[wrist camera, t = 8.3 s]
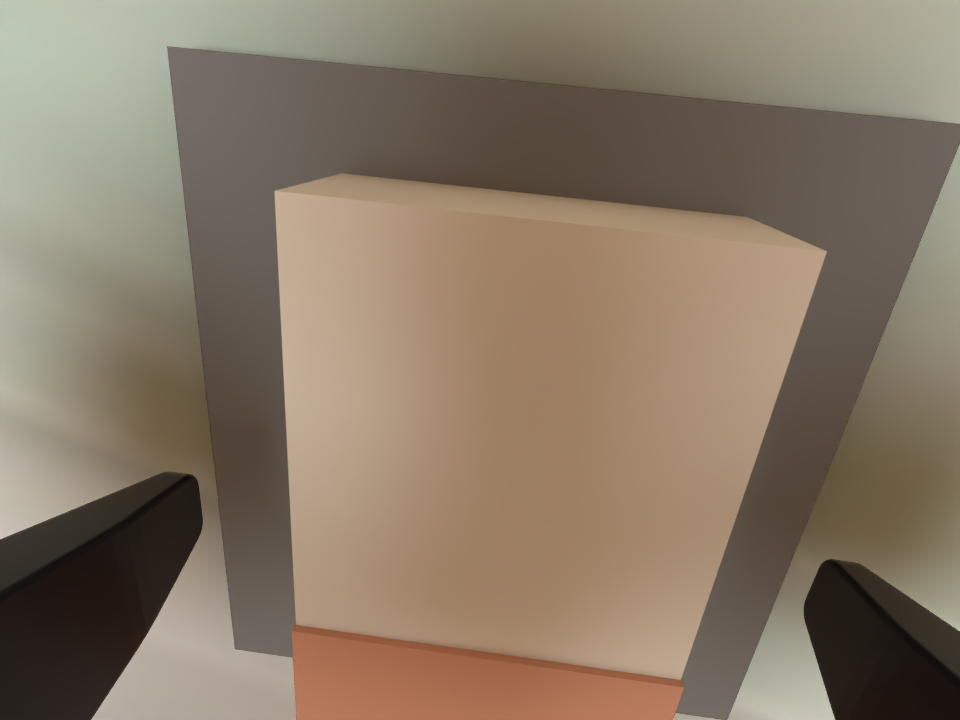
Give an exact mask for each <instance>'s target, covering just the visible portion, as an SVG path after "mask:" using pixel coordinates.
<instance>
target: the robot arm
mask: <svg viewBox="0 0 960 720" xmlns="http://www.w3.org/2000/svg"><path fill="white" fill-rule="evenodd" d="M202 524H203V517H202V509H201V501H200V493H199V485H198V481H197V479H196V478H195V477H194V476H193V475H190V474H184V473H176V472H164V473H161V474H158V475H156V476H153V477H151V478H149V479H146V480H144V481H141V482H139V483H136V484H134V485H132V486H129V487H127V488H124V489H122V490H119V491H117V492H115V493H112V494H110V495H107V496H105V497H102V498H100V499H98V500H95V501H93V502H90V503H88V504H85V505H83V506H81V507H78V508H76V509H73V510H71V511H68V512H66V513H64V514H61V515H59V516H56V517H54V518H51V519H49V520H47V521H44V522H42V523H39V524H37V525H34V526H32V527H30V528H27V529H25V530H22V531H20V532H17V533H15V534H13V535H10V536H8V537H5V538H3V539H0V720H91V719H92V717H93V716H94V714H95V713H96V711H97V710H98V708H99V707H100V705H101V704H102V702H103V701H104V699H105V698H106V696H107V695H108V693H109V692H110V690H111V689H112V687H113V686H114V684H115V683H116V681H117V680H118V678H119V677H120V675H121V674H122V672H123V671H124V669H125V668H126V666H127V665H128V663H129V662H130V660H131V658H132V657H133V655H134V654H135V652H136V651H137V649H138V648H139V646H140V645H141V643H142V641H143V640H144V638H145V637H146V635H147V633H148V632H149V630H150V628H151V626H152V625H153V623H154V621H155V619H156V618H157V616H158V614H159V612H160V610H161V608H162V606H163V604H164V602H165V601H166V599H167V597H168V595H169V593H170V591H171V589H172V587H173V585H174V584H175V582H176V580H177V578H178V576H179V574H180V572H181V570H182V568H183V567H184V565H185V563H186V561H187V559H188V557H189V555H190V553H191V551H192V550H193V548H194V546H195V544H196V542H197V540H198V538H199V536H200V533H201V530H202ZM804 619H805V623H806V626H807V629H808V633H809V636H810V639H811V642H812V646H813V649H814V652H815V655H816V659H817V662H818V665H819V669H820V672H821V675H822V678H823V682H824V685H825V688H826V691H827V695H828V698H829V701H830V704H831V708H832V711H833V714H834V717H835V720H960V631H958V630H957V629H955V628H954V627H952V626H951V625H949V624H948V623H946V622H945V621H943V620H942V619H940V618H939V617H937V616H936V615H935V614H933V613H932V612H930V611H929V610H927V609H926V608H924V607H923V606H921V605H920V604H918V603H917V602H915V601H914V600H912V599H911V598H910V597H908V596H907V595H905V594H904V593H902V592H901V591H899V590H898V589H896V588H895V587H893V586H892V585H890V584H889V583H888V582H886V581H885V580H883V579H882V578H880V577H879V576H877V575H876V574H874V573H873V572H871V571H870V570H868V569H867V568H865V567H864V566H862V565H861V564H858V563H855V562H849V561H841V560H834V559H829V560H826V561H824V562H823V563H822V564H821V566H820V568H819V570H818V572H817V574H816V577H815V579H814V581H813V584H812V586H811V588H810V591H809V593H808V595H807V598H806V600H805V603H804Z"/></svg>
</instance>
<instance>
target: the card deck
mask: <svg viewBox="0 0 960 720" xmlns="http://www.w3.org/2000/svg"><path fill="white" fill-rule="evenodd" d="M274 192H275V213H276V233H277V253H278V273H279V293H280V314H281V334H282V354H283V374H284V394H285V414H286V435H287V455H288V475H289V495H290V515H291V536H292V556H293V576H294V596H295V616H296V623H295V625H294V627H293V630H292V647H293V665H294V684H295V702H296V720H673V718H674V715H675V712H676V709H677V706H678V703H679V701H680V698H681V695H682V692H683V689H684V686H683V682H682V675H683V672H684V669H685V666H686V663H687V660H688V657H689V654H690V651H691V648H692V646H693V643H694V640H695V637H696V634H697V631H698V628H699V625H700V622H701V619H702V616H703V613H704V610H705V607H706V605H707V602H708V599H709V596H710V593H711V590H712V587H713V584H714V581H715V578H716V575H717V572H718V569H719V566H720V564H721V561H722V558H723V555H724V552H725V549H726V546H727V543H728V540H729V537H730V534H731V531H732V528H733V525H734V522H735V520H736V517H737V514H738V511H739V508H740V505H741V502H742V499H743V496H744V493H745V490H746V487H747V484H748V481H749V479H750V476H751V473H752V470H753V467H754V464H755V461H756V458H757V455H758V452H759V449H760V446H761V443H762V440H763V438H764V435H765V432H766V429H767V426H768V423H769V420H770V417H771V414H772V411H773V408H774V405H775V402H776V399H777V396H778V394H779V391H780V388H781V385H782V382H783V379H784V376H785V373H786V370H787V367H788V364H789V361H790V358H791V355H792V353H793V350H794V347H795V344H796V341H797V338H798V335H799V332H800V329H801V326H802V323H803V320H804V317H805V314H806V312H807V309H808V306H809V303H810V300H811V297H812V294H813V291H814V288H815V285H816V282H817V279H818V276H819V273H820V270H821V268H822V265H823V262H824V259H825V256H826V253H827V251H825V250H823V249H820V248H818V247H816V246H813V245H811V244H809V243H806V242H804V241H802V240H799V239H797V238H795V237H792V236H790V235H788V234H786V233H783V232H781V231H779V230H776V229H774V228H772V227H769V226H767V225H765V224H762V223H760V222H758V221H755V220H753V219H751V218H749V217H743V216H734V215H725V214H715V213H706V212H697V211H687V210H678V209H669V208H660V207H650V206H641V205H632V204H622V203H613V202H604V201H595V200H585V199H576V198H567V197H557V196H548V195H539V194H530V193H520V192H511V191H502V190H492V189H483V188H474V187H465V186H455V185H446V184H437V183H427V182H418V181H409V180H400V179H390V178H381V177H372V176H362V175H353V174H344V173H341V174H338V175H334V176H330V177H326V178H322V179H318V180H314V181H311V182H307V183H303V184H299V185H295V186H291V187H287V188H284V189H280V190H276V191H274Z"/></svg>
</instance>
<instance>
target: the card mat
mask: <svg viewBox="0 0 960 720" xmlns="http://www.w3.org/2000/svg"><path fill="white" fill-rule="evenodd" d="M167 49H168V58H169V67H170V76H171V85H172V93H173V102H174V111H175V120H176V129H177V138H178V147H179V156H180V164H181V173H182V182H183V191H184V200H185V209H186V218H187V227H188V236H189V244H190V253H191V262H192V271H193V280H194V289H195V298H196V307H197V315H198V324H199V333H200V342H201V351H202V360H203V369H204V378H205V386H206V395H207V404H208V413H209V422H210V431H211V440H212V449H213V457H214V466H215V475H216V484H217V493H218V502H219V511H220V520H221V528H222V537H223V546H224V555H225V564H226V573H227V582H228V591H229V599H230V608H231V617H232V626H233V635H234V644H235V649H238V650H245V651H252V652H259V653H265V654H272V655H279V656H286V657H293V647H292V630H293V627H294V625H295V623H296V616H295V596H294V576H293V556H292V536H291V515H290V495H289V475H288V455H287V435H286V414H285V394H284V374H283V354H282V334H281V314H280V293H279V273H278V253H277V233H276V213H275V192H274V191H276V190H280V189H284V188H287V187H291V186H295V185H299V184H303V183H307V182H311V181H314V180H318V179H322V178H326V177H330V176H334V175H338V174H341V173H344V174H353V175H362V176H372V177H381V178H390V179H400V180H409V181H418V182H427V183H437V184H446V185H455V186H465V187H474V188H483V189H492V190H502V191H511V192H520V193H530V194H539V195H548V196H557V197H567V198H576V199H585V200H595V201H604V202H613V203H622V204H632V205H641V206H650V207H660V208H669V209H678V210H687V211H697V212H706V213H715V214H725V215H734V216H743V217H749V218H751V219H753V220H755V221H758V222H760V223H762V224H765V225H767V226H769V227H772V228H774V229H776V230H779V231H781V232H783V233H786V234H788V235H790V236H792V237H795V238H797V239H799V240H802V241H804V242H806V243H809V244H811V245H813V246H816V247H818V248H820V249H823V250H825V251H827V253H826V256H825V259H824V262H823V265H822V268H821V270H820V273H819V276H818V279H817V282H816V285H815V288H814V291H813V294H812V297H811V300H810V303H809V306H808V309H807V312H806V314H805V317H804V320H803V323H802V326H801V329H800V332H799V335H798V338H797V341H796V344H795V347H794V350H793V353H792V355H791V358H790V361H789V364H788V367H787V370H786V373H785V376H784V379H783V382H782V385H781V388H780V391H779V394H778V396H777V399H776V402H775V405H774V408H773V411H772V414H771V417H770V420H769V423H768V426H767V429H766V432H765V435H764V438H763V440H762V443H761V446H760V449H759V452H758V455H757V458H756V461H755V464H754V467H753V470H752V473H751V476H750V479H749V481H748V484H747V487H746V490H745V493H744V496H743V499H742V502H741V505H740V508H739V511H738V514H737V517H736V520H735V522H734V525H733V528H732V531H731V534H730V537H729V540H728V543H727V546H726V549H725V552H724V555H723V558H722V561H721V564H720V566H719V569H718V572H717V575H716V578H715V581H714V584H713V587H712V590H711V593H710V596H709V599H708V602H707V605H706V607H705V610H704V613H703V616H702V619H701V622H700V625H699V628H698V631H697V634H696V637H695V640H694V643H693V646H692V648H691V651H690V654H689V657H688V660H687V663H686V666H685V669H684V672H683V675H682V682H683V686H684V689H683V692H682V695H681V698H680V701H679V703H678V706H677V709H676V712H675V713H680V714H687V715H694V716H701V717H708V718H715V719H722V720H727V719H728V717H729V714H730V712H731V709H732V707H733V704H734V702H735V699H736V697H737V694H738V692H739V689H740V687H741V684H742V682H743V679H744V677H745V674H746V672H747V669H748V667H749V665H750V662H751V660H752V657H753V655H754V652H755V650H756V647H757V645H758V642H759V640H760V637H761V635H762V632H763V630H764V627H765V625H766V622H767V620H768V617H769V615H770V612H771V610H772V608H773V605H774V603H775V600H776V598H777V595H778V593H779V590H780V588H781V585H782V583H783V580H784V578H785V575H786V573H787V570H788V568H789V565H790V563H791V560H792V558H793V555H794V553H795V550H796V548H797V546H798V543H799V541H800V538H801V536H802V533H803V531H804V528H805V526H806V523H807V521H808V518H809V516H810V513H811V511H812V508H813V506H814V503H815V501H816V498H817V496H818V493H819V491H820V489H821V486H822V484H823V481H824V479H825V476H826V474H827V471H828V469H829V466H830V464H831V461H832V459H833V456H834V454H835V451H836V449H837V446H838V444H839V441H840V439H841V436H842V434H843V431H844V429H845V427H846V424H847V422H848V419H849V417H850V414H851V412H852V409H853V407H854V404H855V402H856V399H857V397H858V394H859V392H860V389H861V387H862V384H863V382H864V379H865V377H866V374H867V372H868V370H869V367H870V365H871V362H872V360H873V357H874V355H875V352H876V350H877V347H878V345H879V342H880V340H881V337H882V335H883V332H884V330H885V327H886V325H887V322H888V320H889V317H890V315H891V312H892V310H893V308H894V305H895V303H896V300H897V298H898V295H899V293H900V290H901V288H902V285H903V283H904V280H905V278H906V275H907V273H908V270H909V268H910V265H911V263H912V260H913V258H914V255H915V253H916V251H917V248H918V246H919V243H920V241H921V238H922V236H923V233H924V231H925V228H926V226H927V223H928V221H929V218H930V216H931V213H932V211H933V208H934V206H935V203H936V201H937V198H938V196H939V193H940V191H941V189H942V186H943V184H944V181H945V179H946V176H947V174H948V171H949V169H950V166H951V164H952V161H953V159H954V156H955V154H956V151H957V149H958V146H959V144H960V124H954V123H944V122H934V121H924V120H913V119H903V118H893V117H883V116H873V115H862V114H852V113H842V112H832V111H821V110H811V109H801V108H791V107H781V106H770V105H760V104H750V103H740V102H730V101H719V100H709V99H699V98H689V97H678V96H668V95H658V94H648V93H638V92H627V91H617V90H607V89H597V88H587V87H576V86H566V85H556V84H546V83H536V82H525V81H515V80H505V79H495V78H484V77H474V76H464V75H454V74H444V73H433V72H423V71H413V70H403V69H393V68H382V67H372V66H362V65H352V64H341V63H331V62H321V61H311V60H301V59H290V58H280V57H270V56H260V55H250V54H239V53H229V52H219V51H209V50H198V49H188V48H178V47H168V46H167Z"/></svg>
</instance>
